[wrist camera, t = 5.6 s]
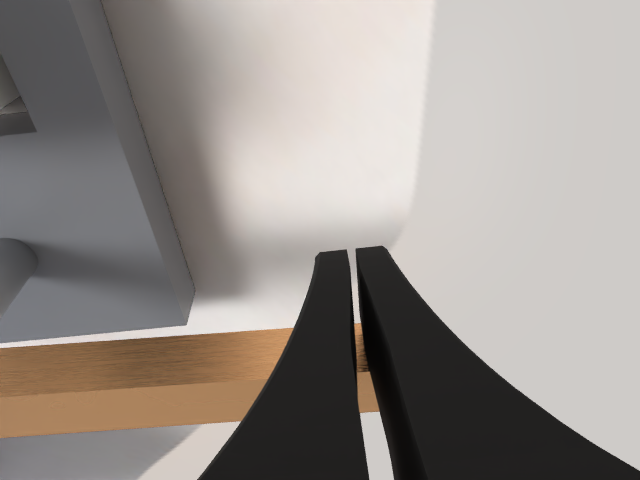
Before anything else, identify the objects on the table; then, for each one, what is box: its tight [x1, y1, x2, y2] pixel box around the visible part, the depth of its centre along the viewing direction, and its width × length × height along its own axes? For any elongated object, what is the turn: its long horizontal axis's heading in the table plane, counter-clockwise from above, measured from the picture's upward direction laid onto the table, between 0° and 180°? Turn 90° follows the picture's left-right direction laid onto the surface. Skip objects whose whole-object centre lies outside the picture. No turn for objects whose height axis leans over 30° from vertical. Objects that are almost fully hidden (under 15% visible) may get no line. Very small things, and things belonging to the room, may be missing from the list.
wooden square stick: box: [0, 323, 379, 438], centre depth 12 cm, size 14×2×2 cm, turn 93°
